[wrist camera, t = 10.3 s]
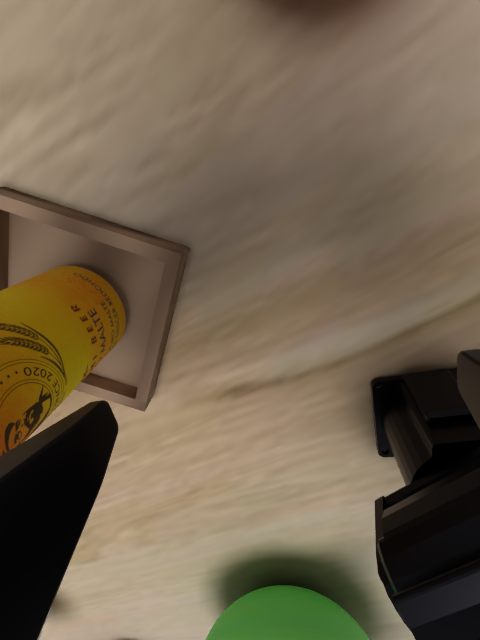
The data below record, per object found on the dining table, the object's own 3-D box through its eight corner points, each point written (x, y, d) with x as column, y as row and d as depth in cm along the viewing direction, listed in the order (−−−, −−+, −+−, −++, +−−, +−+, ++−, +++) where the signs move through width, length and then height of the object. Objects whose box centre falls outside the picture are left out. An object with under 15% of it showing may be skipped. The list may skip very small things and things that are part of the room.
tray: (189, 247, 21) (181, 254, 19) (153, 396, 25) (144, 411, 24) (3, 186, 20) (-21, 188, 19) (2, 348, 25) (-18, 360, 24)
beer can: (124, 359, 24) (-88, 615, 10) (40, 334, 24) (-290, 558, 10) (136, 278, 21) (-124, 470, 8) (42, 250, 21) (-394, 393, 7)
